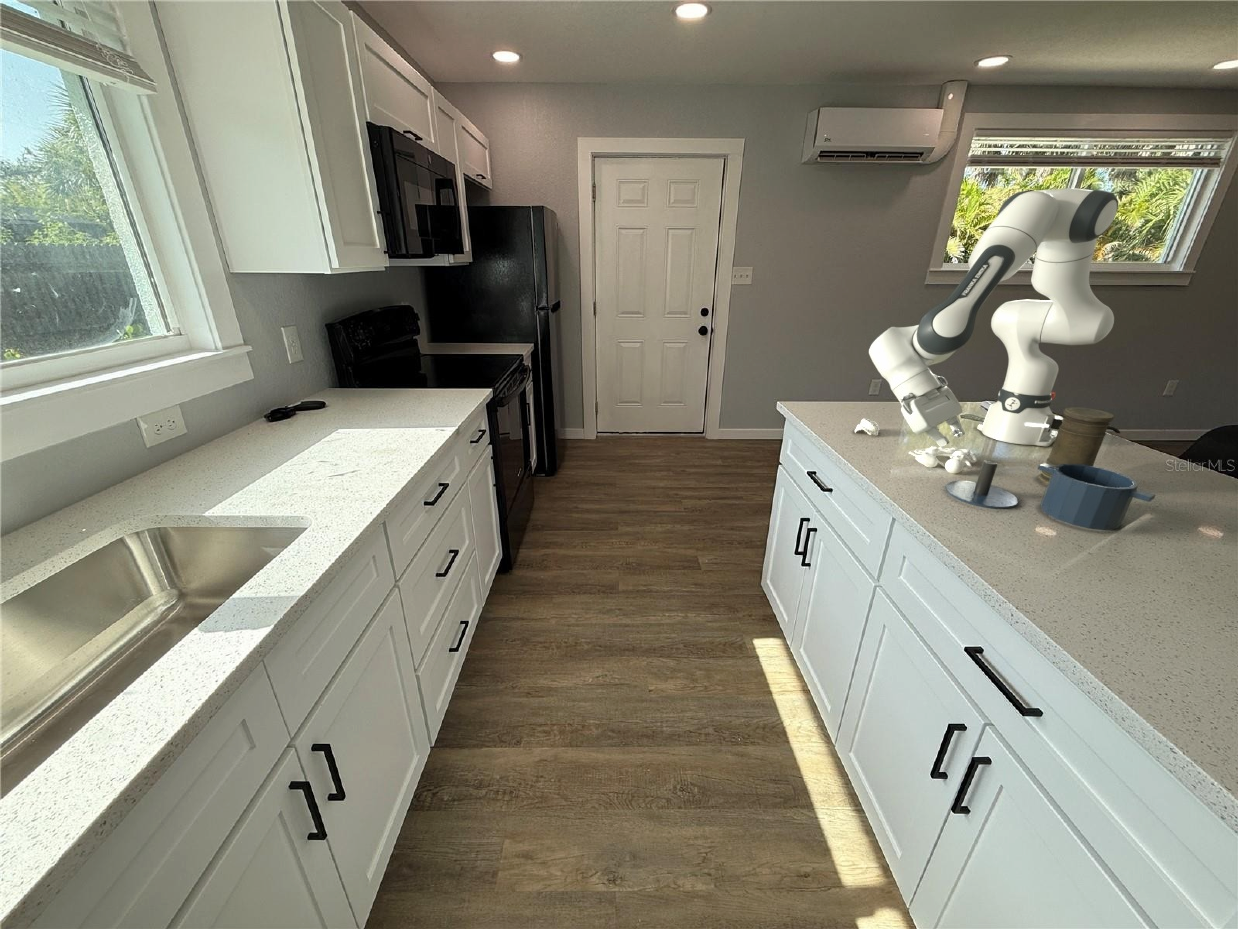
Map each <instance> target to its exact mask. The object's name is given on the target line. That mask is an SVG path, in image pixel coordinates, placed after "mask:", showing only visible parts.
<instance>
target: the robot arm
mask: <svg viewBox="0 0 1238 929" xmlns="http://www.w3.org/2000/svg"><path fill="white" fill-rule="evenodd" d="M1118 209H1119V200H1118V197H1117V196H1116V194H1115V193H1114V192H1112V191H1108V190H1104V189H1094V190H1091V189H1083V188H1071V187H1070V188H1068V187H1062V188H1055V189H1054V188H1051V189H1041V190H1039V189H1038V190H1034V189H1028V190H1022V191H1019V192H1016V193H1014V194H1012V195H1010V197H1008V198H1007V199H1006V200H1005V201H1004V202H1003V203H1002V205H1000V208H999V210H998V212H997V216H996V217H995V218H994V219H993V220H992V222H991V223H990V224H989V226H988V227H987V228H986V230H985V231H983V234H982V235H981V236H980V238H979V239H978V240H977V243H976V244H975V246H974V247H973V250H972V252H971V253H970V256H969V258H968V260H967V261H968V267H969V269H968V271H967V273H966V274H965V276H964V277H963V278H962V280H961V281H960V283H959V284H958V285H957V286H956V288H955V289H954V291H953V292H952V293H951V294H950V295H949V297H947V299H946V300H945V301H942V302H941V303H940V304H938V305H936V306H935V307H933V308H932V309H930V310H929V311H928V312H926V313H925V314H924V316H922V318H921V320H920V322H919V323H918V324H917V325H912V326H911V325H910V326H903V327H902V326H899V327H898V326H891V327H888V328H886V329H885V330H883V331H882V332H881V333H880V334H878V335H877V336H876V337H875V338H874V339H873V340H872V342H871V343H870V345H869V347H868V355H869V358H870V359H871V361H872V363H873V365H874V366H875V368H876V370H877V371H878V373H879V374H880V376H881V377H882V378H884V379H885V380H886V381H887V383H888V384H889V387H890V390H891V391H892V393H893V394H894V396H895V398H896V399H897V400H898V401H899V403H900V406H901V408H900V411H901V414H902V416H903V418H904V420H905V421H906V423H907V424H908V426H909V427H910V429H911V431H912V432H913V433H914V434H916V435H918V436H920V435H922V434H924V433H926V435H927V436H928V437H929V438H930V439H931V440H933V441H934V442H935V443H936V444H937V445H938V448H939V447H943V448H944V447H945V446H948V445H949V444H950V440H949V439H948V437H947V436H946V435H944V434H942V432H940V428H939V427H938V426H939V425H942V424H943V423H946V424H947V425H948V426H949V427H950V429H951V431H952V432H951V434H952V435H953V436H954V438H956V439H957V438H960V437H962V436H964V435H965V434H966V431H965V430H964V429H963V427H962V424H961V421H960V418H959V417H958V416H959V415H961V414H962V413H963V407H962V405H961V403H960V402H959V400H958V399H957V397H956V395H955V394H954V392H953V391H952V390H951V388H949V387H948V384H949V383H948V380H947V379H946V378H945V377H943V376H939V375H937V374H935V373H933V372H932V370H931V369H930V368H929V367H931V366H933V365H936V364H940V363H942V362H944V361H946V360H947V359H949V358H950V357H951V356H952V355H953V354H954V353H955V352H957V351H958V350H959V349H960V348H962V347H963V346H964V345H966V343H968V341H969V340H970V339H971V337H972V335H973V334H974V330H975V324H976V319H977V315H978V312H979V311H980V310H981V308H982V307H983V305H984V304H985V302H986V301H987V300H988V298H989V296H991V295H992V293H993V291H994V290H995V289H996V287H997V286H998V285H999V284H1000V283H1001V282H1003V281H1006V280H1009V279H1011V278H1012V277H1013V276H1014V275H1015V274H1016V273H1017V272H1019V270H1021V268H1022V267H1023V266H1024V265H1025V264H1026V263H1027V262H1028V261H1029V260H1030V259H1031V258H1032V256H1033V255H1034V254H1035V258H1034V263H1033V268H1032V273H1031V279H1030V282H1031V285H1032V288H1033V289H1034V291H1036V292H1037V293H1038V294H1041V295H1042V296H1045V297H1046V298H1048V299H1049V300H1043V299H1042V300H1040V299H1019V300H1011V301H1005V302H1004V303H1002V304H1001V305H999V307H998V308H996V310H995V311H994V313H993V315H992V317H991V321H990V328H991V330H992V332H993V334H994V335H995V336H996V337H998V338H999V340H1000V341H1001V342H1002V343H1003V346H1004V347H1005V349H1006V352H1007V356H1008V363H1007V364H1008V365H1007V370H1006V375H1005V379H1004V382H1003V385H1002V387H1000V389H999V391H998V395H997V398H996V399H997V401H995V402H993V403H991V404H990V405H989V407H988V410H987V413H986V415H985V418H984V421H983V423H982V424H978V425H977V426H976V429H977V430H978V431H980V432H981V433H982V434H983V435H984V436H986V437H988V438H990V439H993V440H997V441H1000V442H1004V443H1008V444H1009V443H1010V444H1016V445H1023V446H1024V445H1027V446H1039V447H1050V446H1052V444H1054V442H1055V439H1056V436H1057V434H1058V431H1059V429H1060V428H1059V427H1060V426H1061V424H1062V422H1063V416H1061V415H1055V414H1054V412H1053V411H1052V409H1051V408H1050V406H1051V405H1052V404H1051V402H1052V401H1053V400H1054V399H1055V397H1056V395H1057V394H1056V392H1053V388H1054V385H1055V383H1056V379H1057V376H1058V374H1059V371H1060V370H1059V365H1058V363H1057V362H1056V361H1055V360H1054V359H1053V358H1052V357H1050V356H1048V355H1046V354H1045V353H1044V352H1042V351H1041V350H1040V347H1039V344H1040V343H1045V344H1056V345H1065V346H1083V345H1084V346H1085V345H1096V344H1097V343H1099V342H1101V341H1102V340H1103V339H1104V338H1106V337H1107V336H1108V335H1109V334H1110V332H1111V331H1112V329H1113V327H1114V323H1115V315H1114V312H1113V310H1112V309H1111V308H1110V307H1109V306H1108V305H1106V304H1104V303H1103V302H1102V301H1100V300H1099V299H1098V297H1096V295H1095V294H1094V292H1093V290H1092V288H1091V284H1090V273H1091V267H1092V262H1093V258H1094V253H1095V250H1096V247H1097V246H1096V245H1097V241H1098V238H1099V237H1101V236H1103V235H1104V234H1105V233H1106V232H1107V231H1108V230H1109V228H1110V227H1111V226H1112V223H1113V222H1114V220H1115V218H1116V215H1117V213H1118ZM1035 252H1036V253H1035ZM1106 430H1111V431H1113V432H1114V433H1116V434H1121V431H1120V430H1119V429H1118V428H1116V427H1115V426H1111V425H1108V427H1107V429H1106Z"/></svg>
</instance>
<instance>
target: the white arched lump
mask: <svg viewBox="0 0 1238 929" xmlns="http://www.w3.org/2000/svg"><path fill="white" fill-rule="evenodd" d="M861 430H862V431H864V432H865V433H867V434H868V435H869V436H872V435H873V436H878V435H879V431H880V427H879V424H878V423H877V422H876V421H875V420H872V419H870V418H868V417H867V418H866V417H865V418H862V419H861V421H860V423H859V424H857V425H856V428H855V429H854V434H856V433H858V432H860V431H861Z"/></svg>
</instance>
